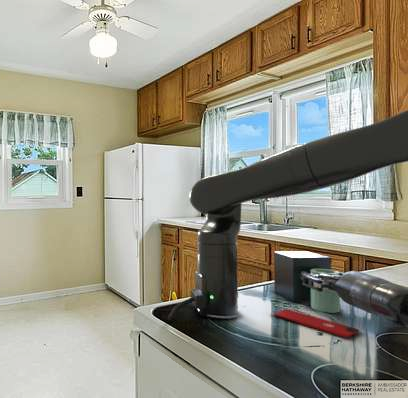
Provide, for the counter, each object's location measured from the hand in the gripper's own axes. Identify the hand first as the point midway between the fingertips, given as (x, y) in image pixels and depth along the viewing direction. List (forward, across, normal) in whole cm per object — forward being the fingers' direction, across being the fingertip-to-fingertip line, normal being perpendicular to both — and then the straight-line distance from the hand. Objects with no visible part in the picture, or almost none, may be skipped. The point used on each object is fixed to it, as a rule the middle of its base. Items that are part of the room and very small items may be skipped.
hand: (319, 275), depth 83 cm
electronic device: (-12, +9, +8) cm, 17 cm away
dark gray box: (+8, 0, +8) cm, 11 cm away
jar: (-2, 0, +8) cm, 8 cm away
